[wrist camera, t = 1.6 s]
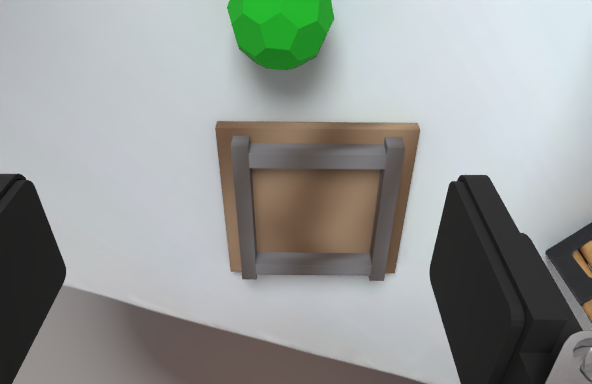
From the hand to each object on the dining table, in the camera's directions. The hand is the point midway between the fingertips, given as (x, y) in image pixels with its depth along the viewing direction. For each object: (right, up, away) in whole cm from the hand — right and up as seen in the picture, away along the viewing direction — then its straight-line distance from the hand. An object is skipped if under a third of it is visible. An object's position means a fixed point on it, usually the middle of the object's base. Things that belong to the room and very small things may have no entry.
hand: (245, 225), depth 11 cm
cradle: (+2, 0, +22) cm, 22 cm away
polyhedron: (+1, +11, +14) cm, 18 cm away
